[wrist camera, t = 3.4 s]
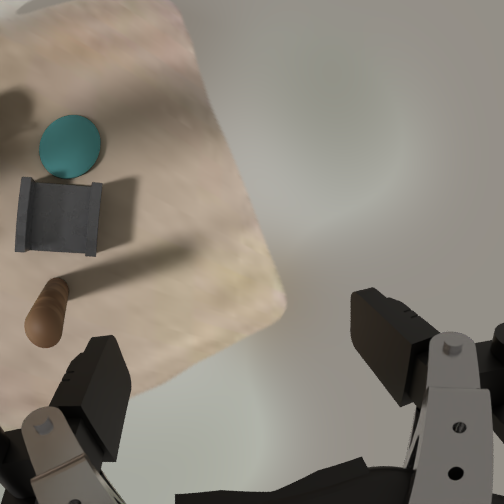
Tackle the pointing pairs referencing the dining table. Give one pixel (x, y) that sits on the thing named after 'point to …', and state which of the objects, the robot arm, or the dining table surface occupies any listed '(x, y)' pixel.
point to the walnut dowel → (48, 314)
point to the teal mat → (69, 146)
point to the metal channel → (57, 217)
